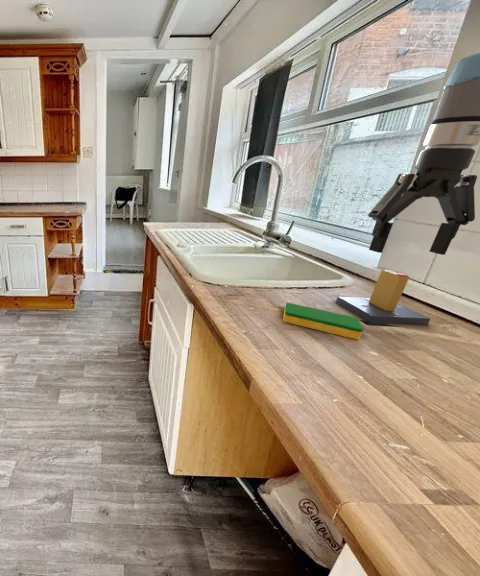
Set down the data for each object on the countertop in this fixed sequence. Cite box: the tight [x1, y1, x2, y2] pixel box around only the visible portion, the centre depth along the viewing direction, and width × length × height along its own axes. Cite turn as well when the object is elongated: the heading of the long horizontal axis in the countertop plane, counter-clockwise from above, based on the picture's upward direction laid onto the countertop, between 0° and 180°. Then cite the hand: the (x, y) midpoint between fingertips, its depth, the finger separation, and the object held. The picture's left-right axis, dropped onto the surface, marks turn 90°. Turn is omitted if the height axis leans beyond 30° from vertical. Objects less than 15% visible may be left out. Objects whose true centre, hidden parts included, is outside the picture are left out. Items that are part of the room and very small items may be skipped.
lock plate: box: [335, 296, 431, 328], centre depth 74 cm, size 13×11×3 cm
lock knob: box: [369, 269, 410, 311], centre depth 72 cm, size 5×2×9 cm, turn 178°
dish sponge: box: [282, 302, 364, 340], centre depth 68 cm, size 7×14×2 cm, turn 58°
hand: (405, 252), depth 68 cm, fingers open, 13 cm apart
